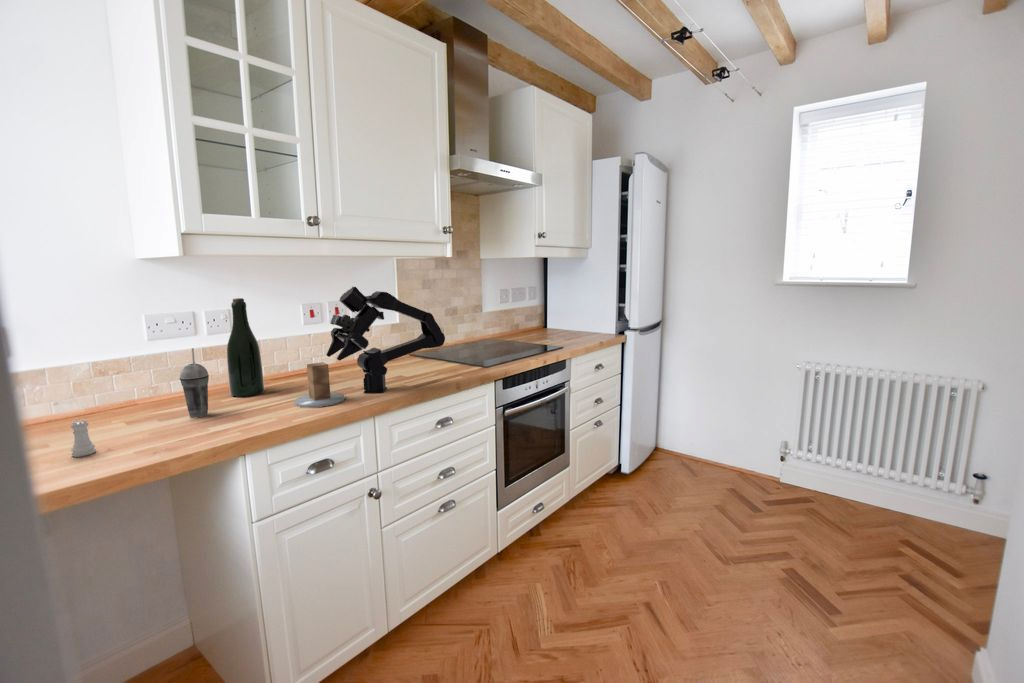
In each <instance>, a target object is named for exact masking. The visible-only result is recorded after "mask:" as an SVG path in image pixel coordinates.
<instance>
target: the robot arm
mask: <svg viewBox="0 0 1024 683" xmlns="http://www.w3.org/2000/svg"><path fill="white" fill-rule="evenodd" d="M338 301H340V302H341V304H343V305H344V307H346V308H347V309H348V310H349V311H350V312H351V313H355V312H356V313H357V314H356V316H354V317H351V315H348V314H343V315H337V314H332V318H331V320H330V323H329V324H330V325H333V326H334V325H335V326H338V327H333V328H332V330H331V331H330V336H331V339H332V340H331V343H330V345H329V348H328V350H327V352H326V356H327V358H330V357H332V356H333V355H335V354H336V353H337V352H339V351H340V352H339V353H338V355H337V358H336V360H337V361H339V362H340V361H342V360H343V359H346V358H348V357H350V356H352V355H354V354H356V353H358V352H360V351H362V350H363V351H362V353H360V354H359V355H358V357H357V360H356V362H357V365H358V367H359V368H360V369H362V371H363V373H365V374H364V377H363V380H362V381H363V393H364V394H379V393H380V394H382V393H384V392H385V391H386V390H388V386H386V385H387V384H386V375H387V371H388V368H387V367H386V366H385V365H386V364H387V363H388V362H390V361H394V360H396V359H399V358H401V357H403V356H407V355H409V354H410V355H411V354H412V353H415V352H417V351H420V350H423V349H434V348H440V347H442V346H443V345H444V344H445V342H446V336H445V334H444V332H443V331H442V329H441V327H440V326H439V324H438V322H436V319H435V318H434V317H435V316H434V315H433V314H432V313H431V312H428V311H425V310H422V309H420V308H417V307H415V306H412V305H410V304H407V303H405V302H402V301H400V300H399V299H398V298H397V297H395V296H394V295H392V294H391V293H390V292H387V291H379V290H378V291H377V290H376V291H374V292H373V293H371V295H367V296H366V295H364V294H363V293H362V291H360V290H359V289H358V287H356V286H352V287H351V288H350V289H347V290H346V291H345V292H344V293H343V294H342V295H341V296H340V297H339V300H338ZM369 304H370V305H371V306H370V305H369ZM378 309H381V310H387V311H391V312H392V311H393V312H396V313H398V314H401V315H403V316H406V317H409V318H411V319H414V320H416V321H419V322H420V327H421V328H420V329H421V334H420V335H418V337H416V338H414V339H410V340H408V341H405V342H402V343H400V344H397V345H394V346H391V347H388V348H386V349H380V348H377V347H372V348H369V349H368V350H366V349H367V348H368V346H369V344H370V343H369V340H368V339H367V338H366V337H365V336H364V335H365V334H366V332H367V333H368V332H369V331H371V329H370V327H371V326H372V325H373V324H374V323H375V321H376V320H377V319H378V320H383V321H384V320H385V316H384V311H379V310H378Z"/></svg>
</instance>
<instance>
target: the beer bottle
mask: <svg viewBox="0 0 1024 683" xmlns="http://www.w3.org/2000/svg"><path fill="white" fill-rule="evenodd" d="M230 307H231V310H232V326H231V331H230V335H229V338H228V342H227V344H226V360H227V363H226V364H227V374H228V385H229V386H228V387H229V394H230V395H231V396H232V397H234V396H236V397H235V398H245V397H244V396H247V397H252V395H253V396H256V394H257V395H260V394H262V393H263V392H264V391H265V380H264V372H263V364H262V355H261V350H260V345H259V343H258V342H259V341H257V338H256V336H255V334H254V332H253V330H252V329H251V326H250V323H249V318H248V312H247V303H246V301H245V299H244V298H242V297H238V298H237V297H236V298H232V302H231V305H230Z"/></svg>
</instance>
